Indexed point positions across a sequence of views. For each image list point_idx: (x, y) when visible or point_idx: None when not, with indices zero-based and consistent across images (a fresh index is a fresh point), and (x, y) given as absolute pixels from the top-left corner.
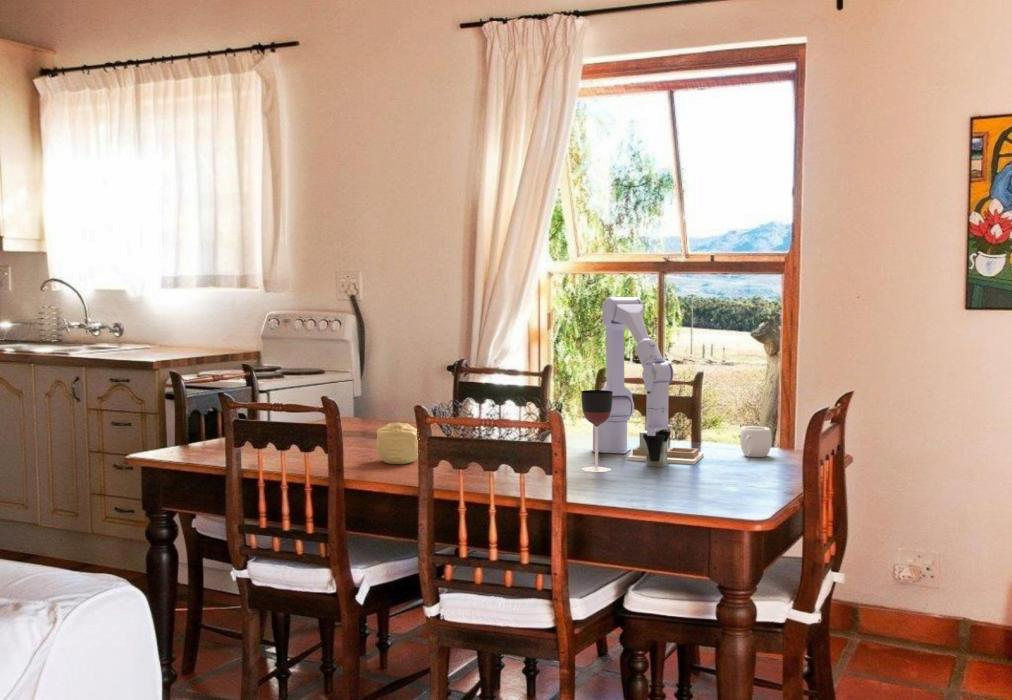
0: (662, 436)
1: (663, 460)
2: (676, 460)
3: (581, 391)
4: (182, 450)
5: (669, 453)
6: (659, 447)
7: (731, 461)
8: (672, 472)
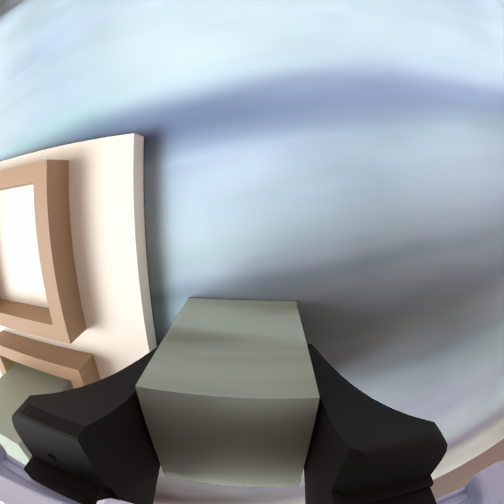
0: (443, 445)
1: (298, 318)
2: (138, 252)
3: None
4: None
5: (70, 315)
6: (362, 396)
7: (32, 29)
8: (445, 217)
